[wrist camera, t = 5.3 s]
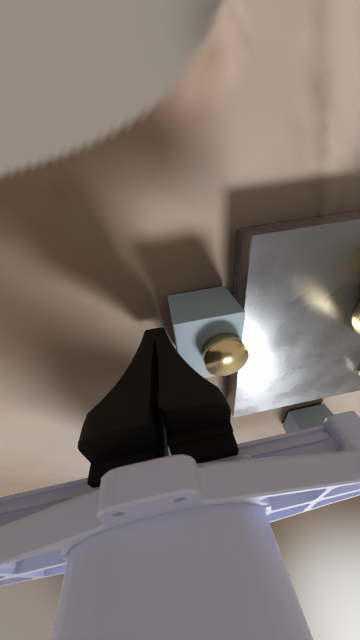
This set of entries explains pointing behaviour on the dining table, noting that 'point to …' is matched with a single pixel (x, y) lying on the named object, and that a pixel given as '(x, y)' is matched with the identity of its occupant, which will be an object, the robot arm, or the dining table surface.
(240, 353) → the block with brass knob
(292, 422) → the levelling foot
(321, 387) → the base
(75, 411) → the dining table surface
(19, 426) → the dining table surface
